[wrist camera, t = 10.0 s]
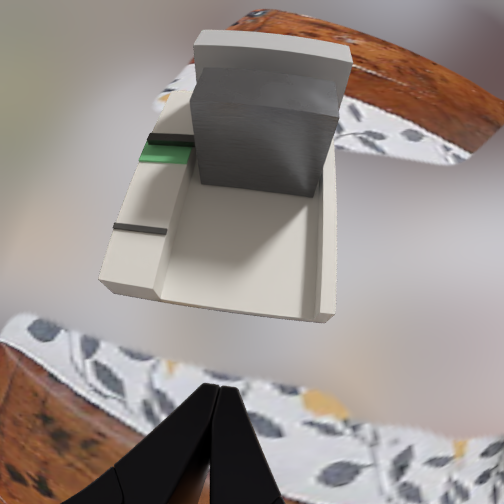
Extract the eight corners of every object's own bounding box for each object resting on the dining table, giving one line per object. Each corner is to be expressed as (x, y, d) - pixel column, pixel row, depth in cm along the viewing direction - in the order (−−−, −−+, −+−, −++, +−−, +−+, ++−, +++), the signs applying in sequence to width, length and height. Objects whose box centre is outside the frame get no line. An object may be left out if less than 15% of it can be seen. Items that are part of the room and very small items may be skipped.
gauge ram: (313, 197, 25) (339, 117, 17) (149, 179, 25) (122, 100, 17) (313, 161, 27) (335, 81, 19) (162, 145, 27) (144, 67, 19)
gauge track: (324, 323, 22) (382, 269, 13) (113, 293, 22) (46, 227, 13) (326, 128, 30) (348, 46, 21) (175, 113, 30) (162, 30, 21)
